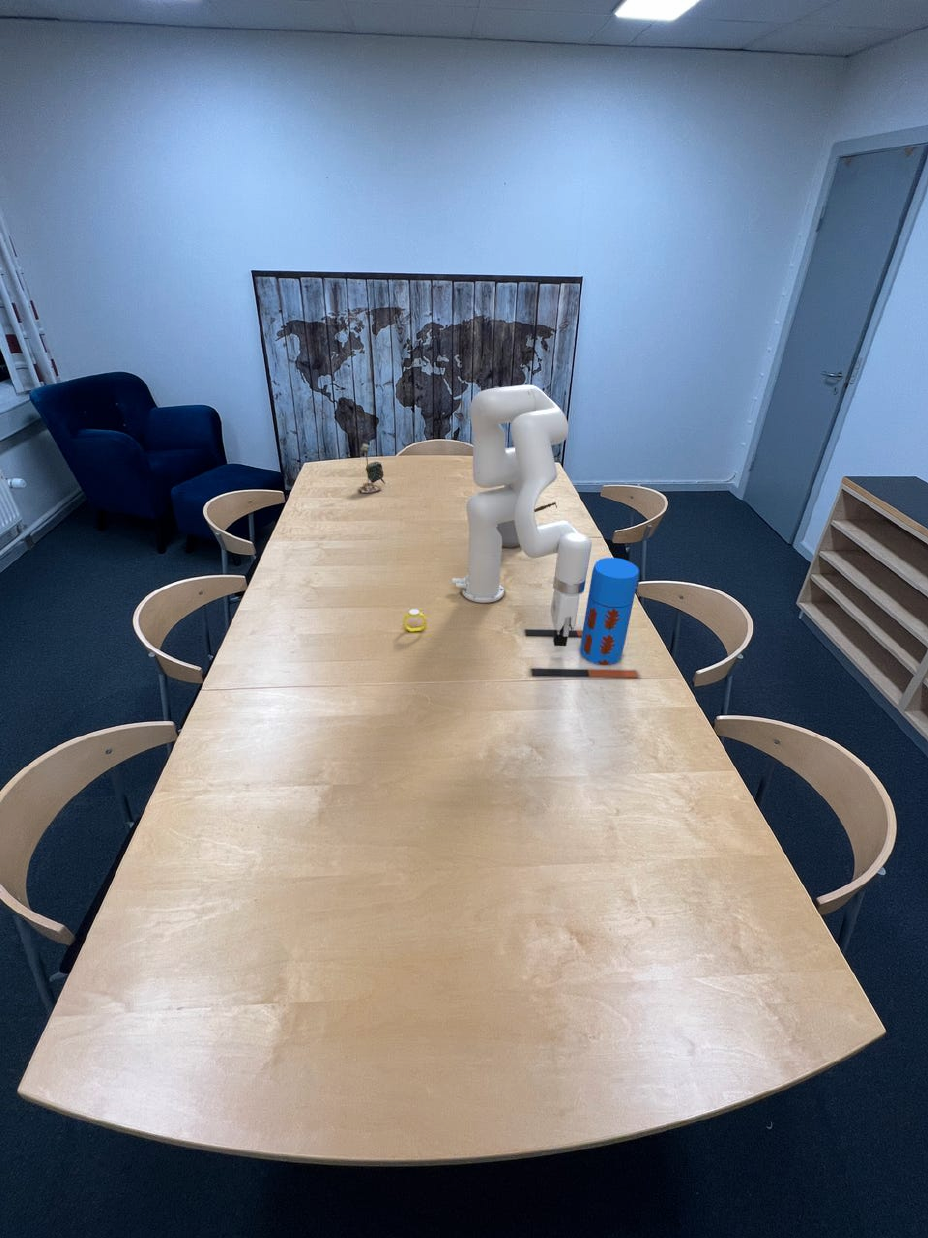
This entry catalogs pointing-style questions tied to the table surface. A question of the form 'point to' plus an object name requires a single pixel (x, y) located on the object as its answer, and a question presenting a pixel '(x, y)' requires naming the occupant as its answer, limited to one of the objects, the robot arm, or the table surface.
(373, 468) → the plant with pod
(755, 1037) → the table surface
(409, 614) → the gold ring
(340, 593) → the table surface
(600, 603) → the thermos
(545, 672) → the lane
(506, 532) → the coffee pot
